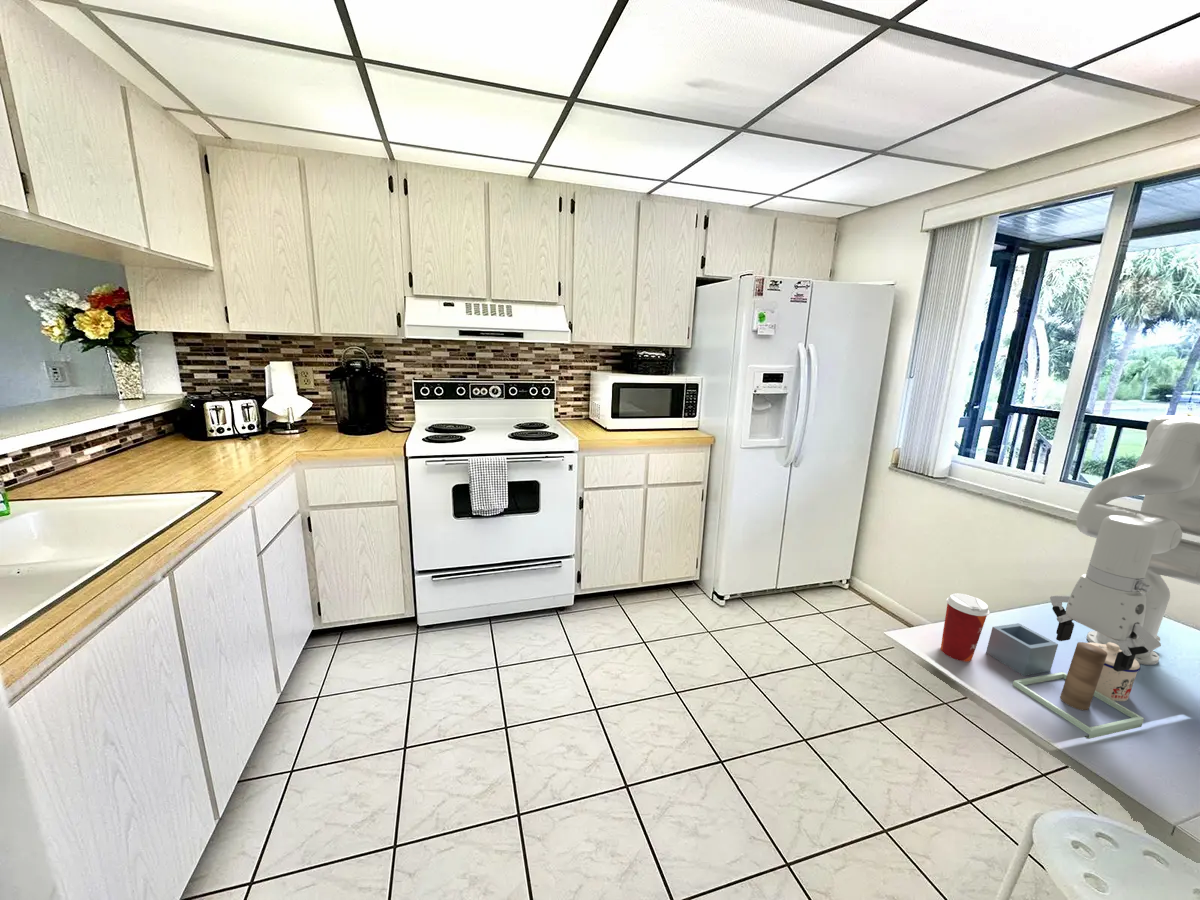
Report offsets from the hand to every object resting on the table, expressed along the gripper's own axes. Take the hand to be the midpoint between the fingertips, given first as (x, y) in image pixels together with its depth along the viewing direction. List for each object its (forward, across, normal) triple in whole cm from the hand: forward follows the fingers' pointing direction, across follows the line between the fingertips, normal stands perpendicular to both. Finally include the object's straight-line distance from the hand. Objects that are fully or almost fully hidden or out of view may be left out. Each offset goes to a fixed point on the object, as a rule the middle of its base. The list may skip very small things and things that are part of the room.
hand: (1090, 654), depth 98 cm
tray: (+12, 0, 0) cm, 13 cm away
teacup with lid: (+13, +3, -13) cm, 18 cm away
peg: (+12, 0, 0) cm, 12 cm away
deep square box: (+13, +13, -2) cm, 18 cm away
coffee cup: (+13, +18, +10) cm, 24 cm away
